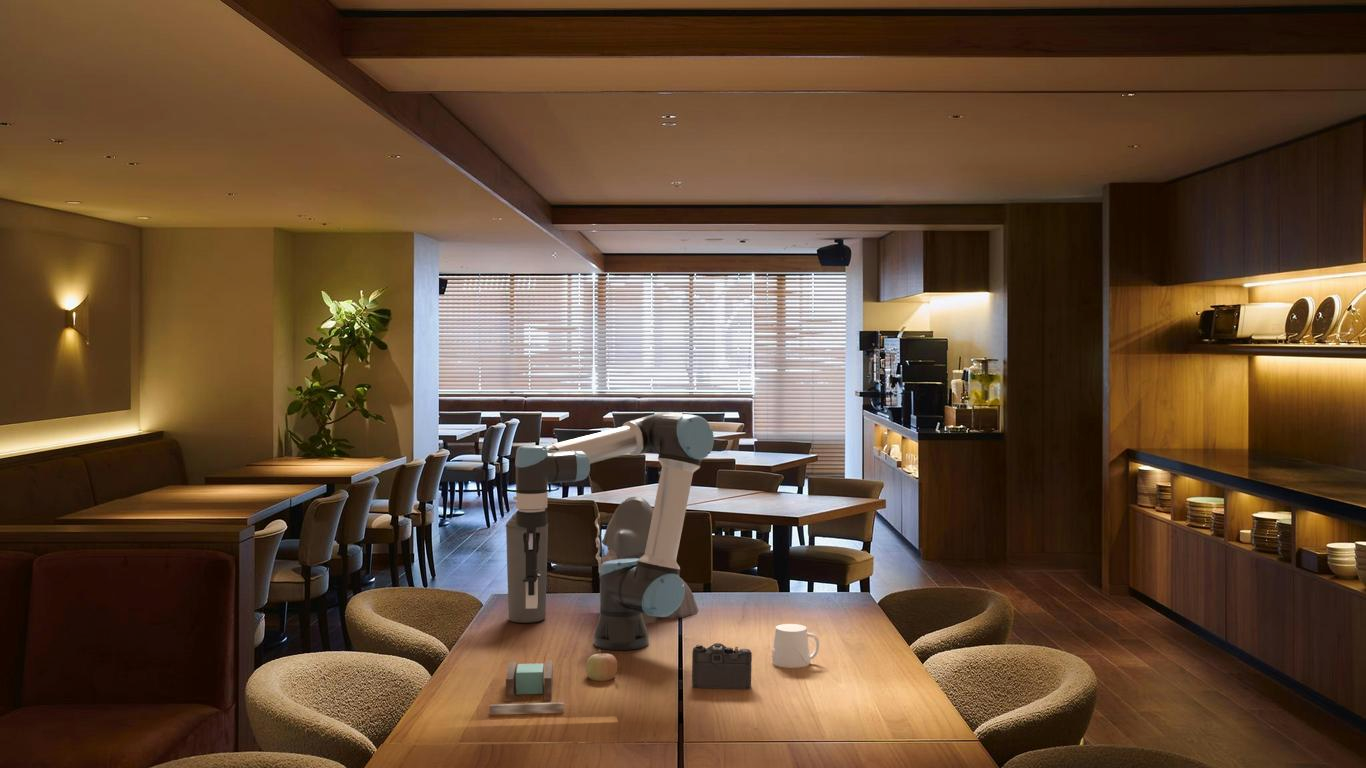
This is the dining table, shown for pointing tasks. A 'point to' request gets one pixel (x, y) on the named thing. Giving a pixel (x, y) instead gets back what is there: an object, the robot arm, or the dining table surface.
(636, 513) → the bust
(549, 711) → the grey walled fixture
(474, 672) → the dining table surface
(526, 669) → the block
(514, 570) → the canister
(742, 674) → the camera
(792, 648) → the mug
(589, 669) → the fruit
